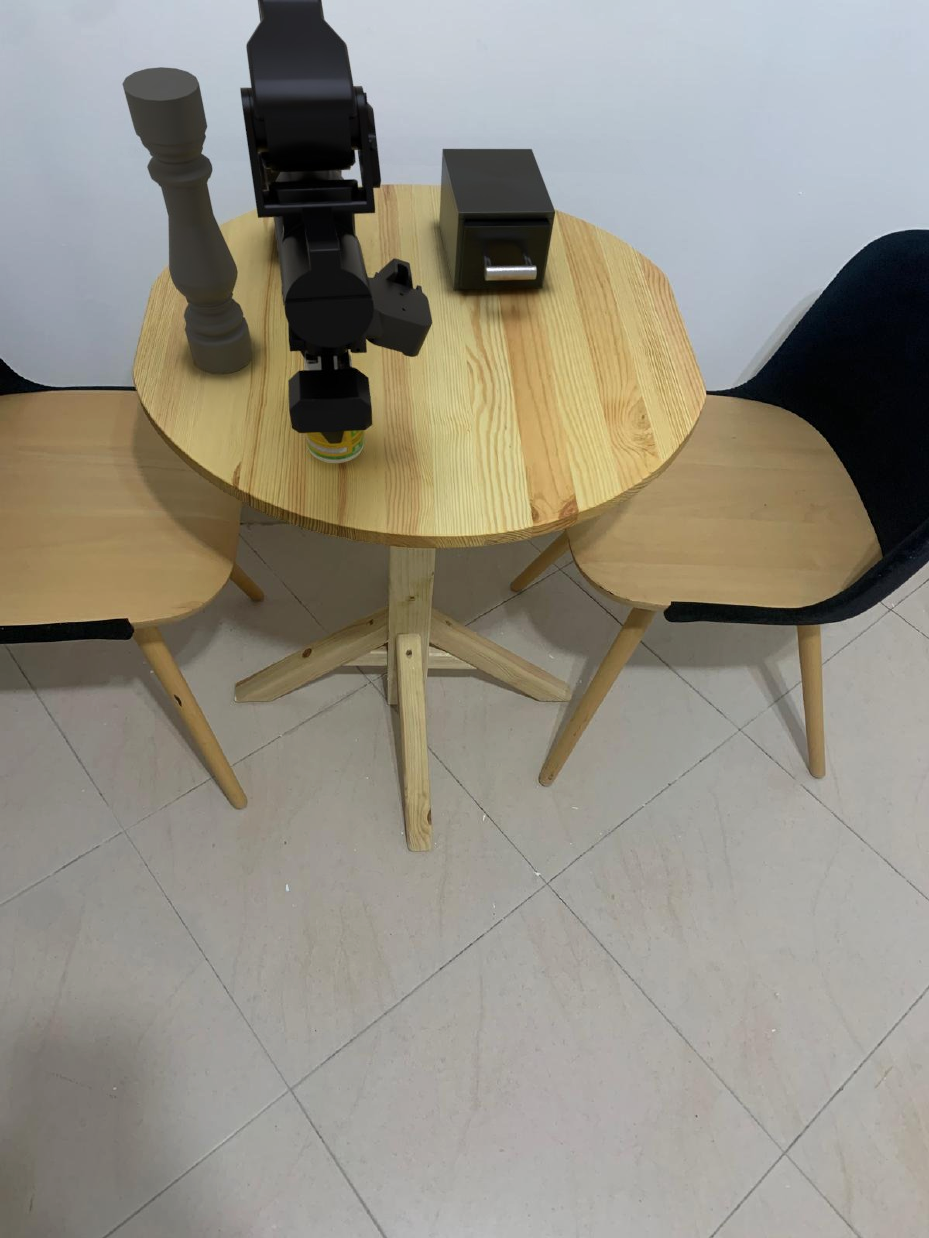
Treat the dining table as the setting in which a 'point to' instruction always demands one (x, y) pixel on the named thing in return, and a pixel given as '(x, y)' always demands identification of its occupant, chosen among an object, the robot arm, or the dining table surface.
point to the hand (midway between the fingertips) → (333, 420)
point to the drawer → (503, 253)
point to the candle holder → (190, 214)
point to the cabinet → (489, 195)
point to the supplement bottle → (334, 452)
